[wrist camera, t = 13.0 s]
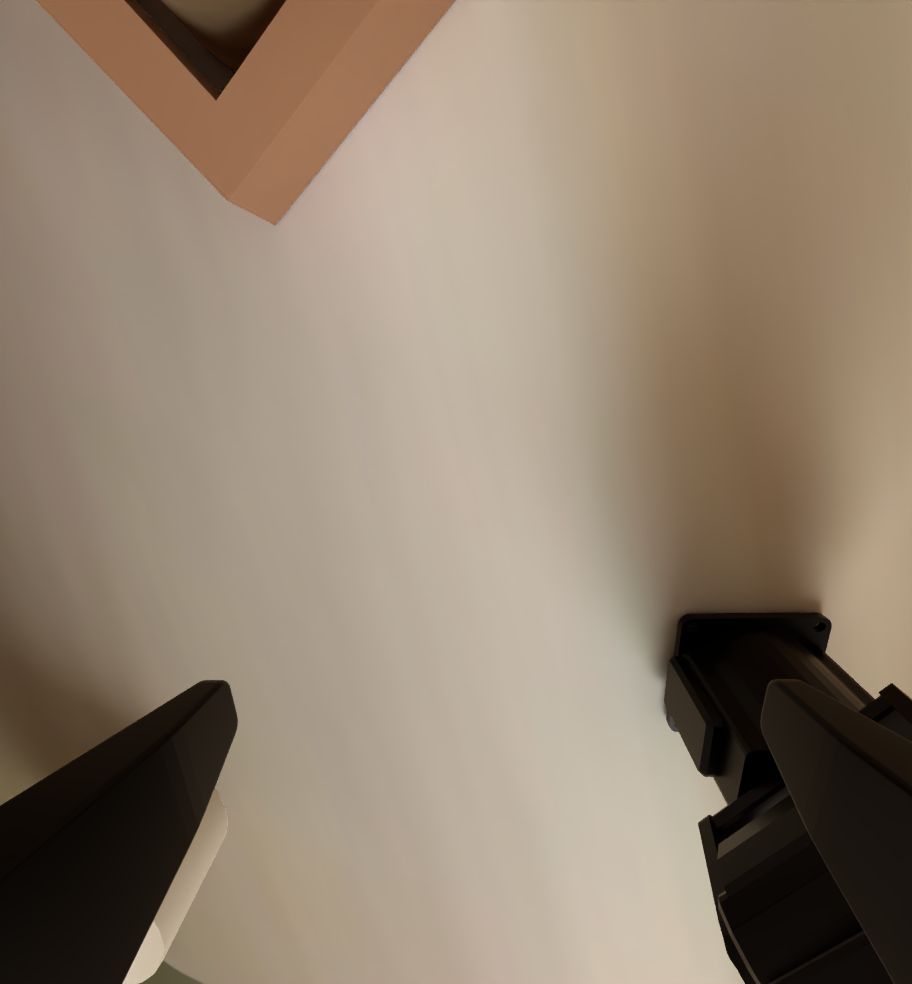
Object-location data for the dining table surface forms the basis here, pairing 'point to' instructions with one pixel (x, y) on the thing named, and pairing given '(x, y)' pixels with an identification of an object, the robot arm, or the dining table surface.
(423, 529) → the dining table surface
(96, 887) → the robot arm
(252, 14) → the peg
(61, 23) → the socket
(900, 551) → the dining table surface
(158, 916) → the base with upright slab
